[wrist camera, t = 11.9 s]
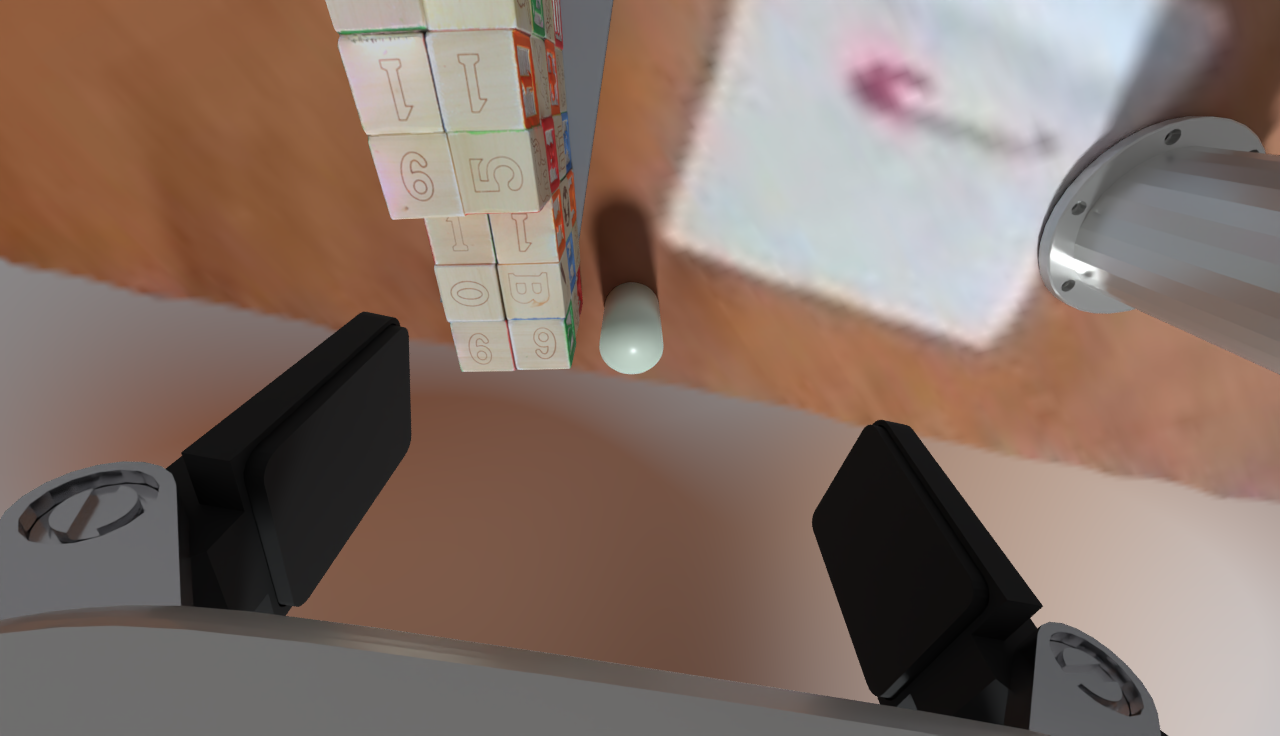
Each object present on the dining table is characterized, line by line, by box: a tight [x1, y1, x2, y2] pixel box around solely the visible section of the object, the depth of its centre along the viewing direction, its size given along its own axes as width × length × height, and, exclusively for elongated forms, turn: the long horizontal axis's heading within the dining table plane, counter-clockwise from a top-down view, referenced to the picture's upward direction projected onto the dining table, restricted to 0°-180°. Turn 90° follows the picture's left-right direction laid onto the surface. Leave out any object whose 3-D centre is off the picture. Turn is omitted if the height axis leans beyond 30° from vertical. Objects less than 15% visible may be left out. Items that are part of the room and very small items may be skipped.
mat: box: [441, 0, 613, 303], centre depth 29 cm, size 9×24×1 cm, turn 168°
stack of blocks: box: [325, 0, 583, 372], centre depth 24 cm, size 21×6×12 cm, turn 1°
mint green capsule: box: [600, 282, 663, 374], centre depth 33 cm, size 4×4×6 cm
